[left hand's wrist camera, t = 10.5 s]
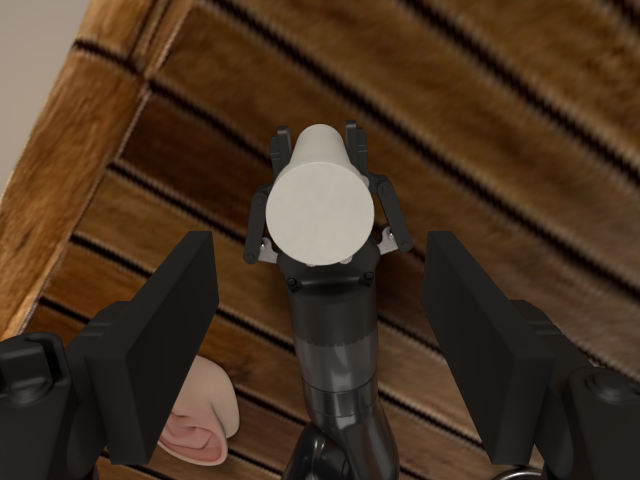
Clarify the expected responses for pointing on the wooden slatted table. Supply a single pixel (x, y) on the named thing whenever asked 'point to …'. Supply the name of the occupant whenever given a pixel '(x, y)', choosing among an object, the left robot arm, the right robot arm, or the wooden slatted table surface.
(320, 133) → the off-white cylindrical rod
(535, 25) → the wooden slatted table surface
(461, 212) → the wooden slatted table surface
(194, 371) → the anatomical model
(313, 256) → the lid
